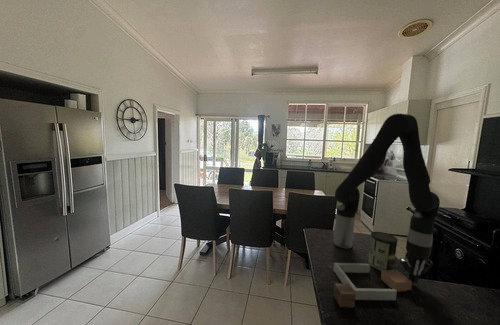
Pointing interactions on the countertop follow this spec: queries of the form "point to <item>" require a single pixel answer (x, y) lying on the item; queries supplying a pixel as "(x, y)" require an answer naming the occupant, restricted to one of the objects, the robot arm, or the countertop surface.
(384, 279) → the brown rectangular block
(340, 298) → the walnut block
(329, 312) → the countertop surface
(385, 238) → the coffee can
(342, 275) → the tray
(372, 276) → the countertop surface
